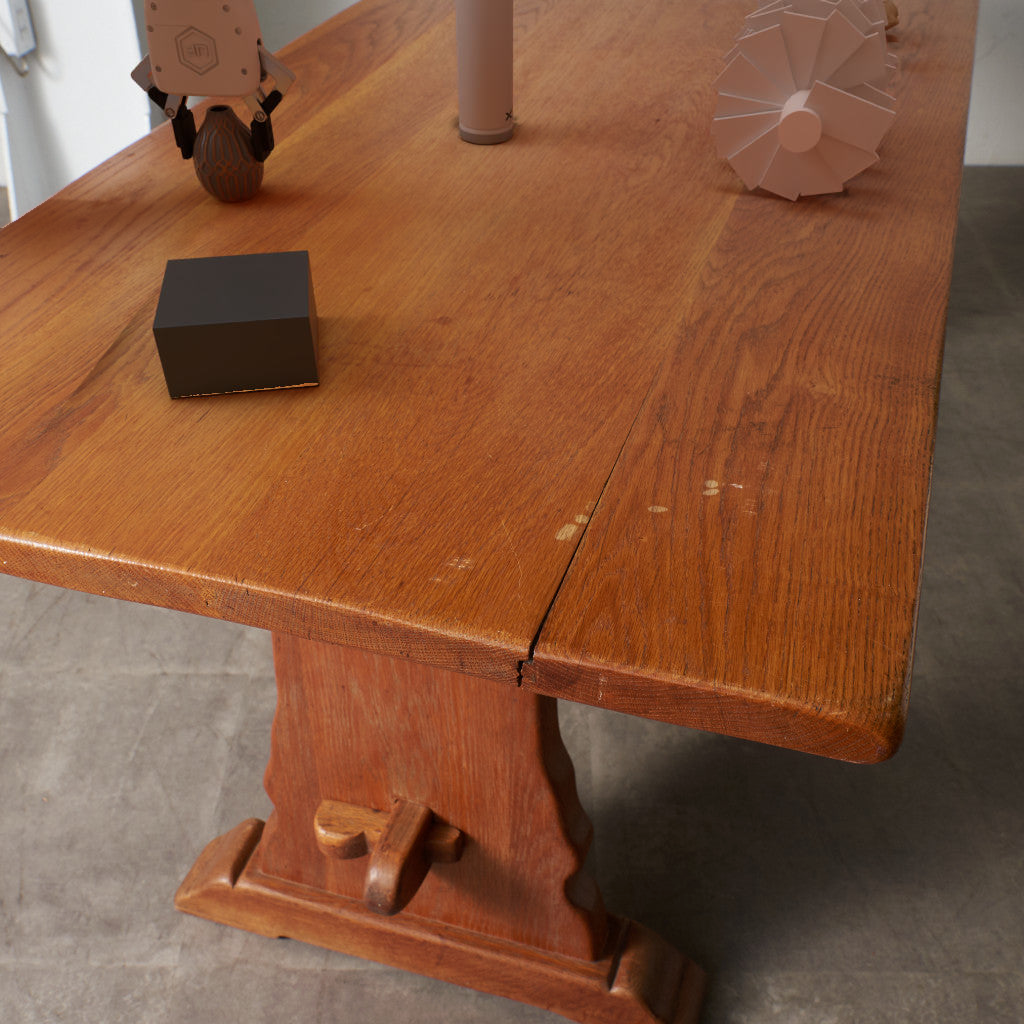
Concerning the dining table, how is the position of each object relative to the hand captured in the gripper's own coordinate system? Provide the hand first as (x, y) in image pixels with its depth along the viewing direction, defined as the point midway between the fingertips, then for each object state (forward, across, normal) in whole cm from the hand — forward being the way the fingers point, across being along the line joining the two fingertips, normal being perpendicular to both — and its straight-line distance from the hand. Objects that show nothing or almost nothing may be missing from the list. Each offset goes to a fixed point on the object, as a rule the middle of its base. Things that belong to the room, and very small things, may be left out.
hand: (227, 154), depth 102 cm
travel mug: (+4, +24, +20) cm, 32 cm away
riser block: (+4, +11, -31) cm, 33 cm away
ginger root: (+1, +69, +63) cm, 94 cm away
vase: (+4, 0, 0) cm, 4 cm away
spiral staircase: (+4, +58, +14) cm, 60 cm away
